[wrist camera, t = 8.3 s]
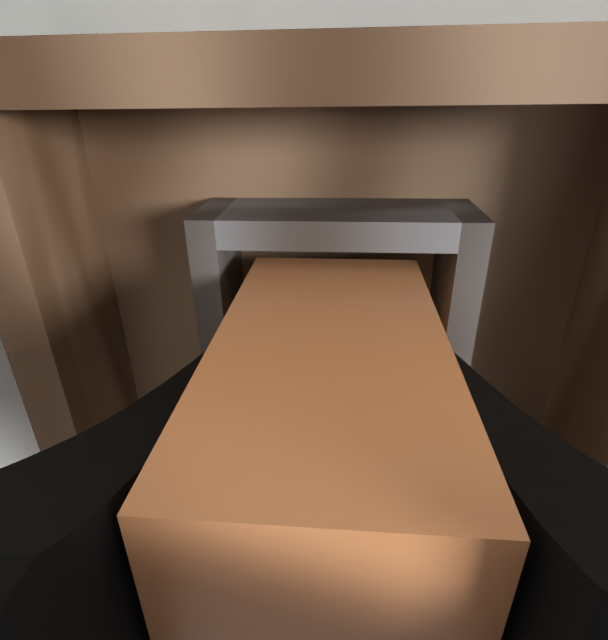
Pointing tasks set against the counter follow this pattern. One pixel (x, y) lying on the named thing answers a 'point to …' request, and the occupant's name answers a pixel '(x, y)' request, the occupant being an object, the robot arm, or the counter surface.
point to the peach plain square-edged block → (325, 473)
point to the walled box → (304, 199)
